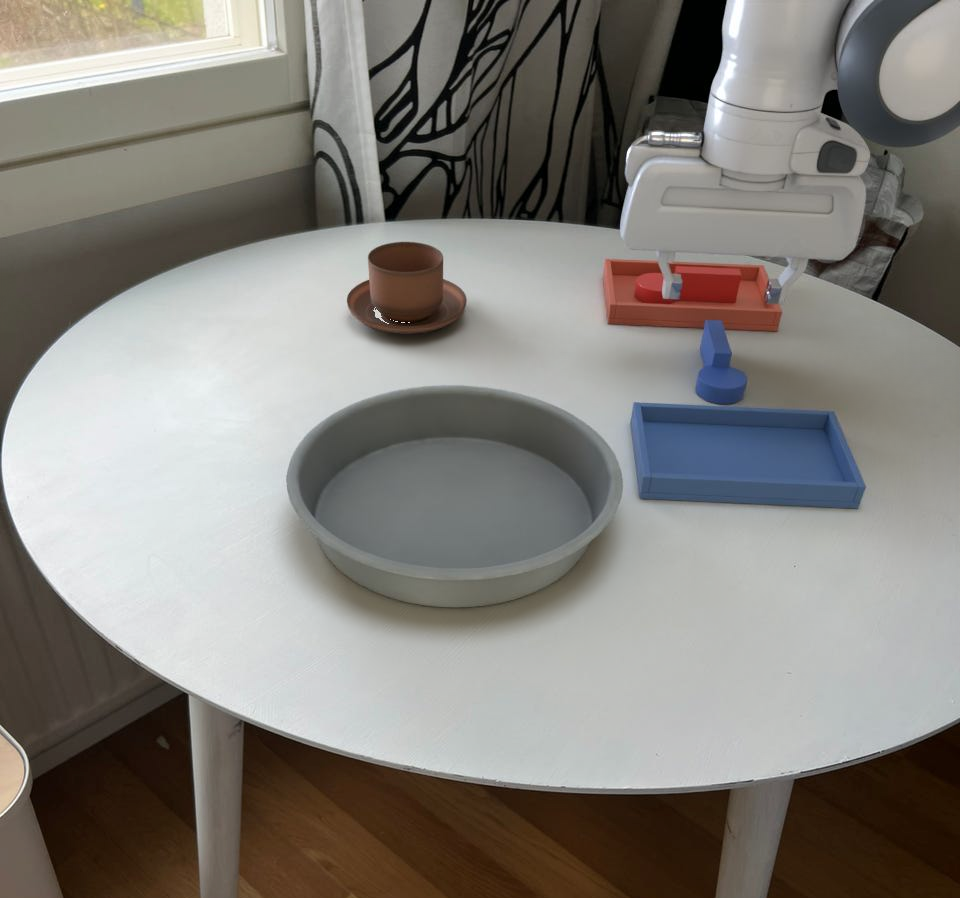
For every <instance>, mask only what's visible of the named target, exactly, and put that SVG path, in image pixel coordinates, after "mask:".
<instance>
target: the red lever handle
mask: <svg viewBox="0 0 960 898" xmlns="http://www.w3.org/2000/svg"><path fill="white" fill-rule="evenodd" d="M674 274H681V279H682V282H683V283H682V289H681V290H680V298H679V299H663V296H662V287H663V281H664V277H663V274H662V273H647V274H643V275H641V276H639V277H638V278H637V281H636V288H635V297H636V298H637V299H638V300H639V301H641V302H643V303H648V304H671V303H673V302H674V301H675V300H679V301H700V302H722V303H736V298H737V294H738V289H739V285H740V280H741V276H742V275H741V272H740V269H732V268H710V267H688V266H676V267H675V273H674Z"/></svg>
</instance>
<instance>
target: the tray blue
mask: <svg viewBox="0 0 960 898" xmlns="http://www.w3.org/2000/svg"><path fill="white" fill-rule="evenodd" d="M630 432H631V439H632V447H633V455H634V463H635V470H636V479H637V486H638V493H639V495H638V496H639V499H640V500H641V499H642V500H643V499H644V500H667V501H686V502H707V503H708V502H709V503H727V504H729V503H730V504H732V503H733V504H749V505H752V504H753V505H772V506H791V507H792V506H794V507H814V508H835V509H836V508H837V509H856V510H857V509H859V508H860V505H861V501H862V499H863V497H864V495H865V492H866V488H867V486H866V484H865V481H864V478H863V476H862V474H861V471H860V469H859V467H858V463H856V459H855V457H854V454H853V453H852V451H851V448H850V445H849V444H848V440H847V438H846V436H845V434H844V431H843V429H842V426H841V424H840V422H839V420H838V417H837V415H836V412H835V411H834V410H817V409H795V408H794V409H793V408H773V407H771V408H770V407H752V406H751V407H750V406H749V407H748V406H726V405H724V406H723V405H708V404H707V405H704V404H686V403H685V404H681V403H680V404H679V403H660V402H639V401H638V402H637V401H634V402H633V403H632V409H631V415H630Z"/></svg>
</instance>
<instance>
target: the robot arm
mask: <svg viewBox="0 0 960 898" xmlns="http://www.w3.org/2000/svg"><path fill="white" fill-rule="evenodd" d="M721 27H722V28H721V35H722V36H721V38H722V52H721V58H720V62H719V66H718V69H717V71H716V73H715V76H714V78H713V80H712V83H711V86H710V91H709V95H708V103H707V107H706V113H705V119H704V123H703V124H704V125H703V130H702V131H701V132H700V131H699V132H698V131H692V132H691V131H677V132H669V131H668V132H667V131H666V132H665V130H657V129H656V130H650V131H648V132H647V135H642V136H640V137H638V138H636V139H635V140H634V141H633V142H632V143H631V145H630V146H629V147H628V150H627V152H626V157H625V165H624V178H625V181H626V183H627V185H628V187H627V190H626V194H625V198H624V200H623V201H624V202H623V206H622V211H621V214H620V215H621V216H620V223H619V233H620V237H621V240H622V241H623V243H624V245H625V246H626V248H628V250H632V251H647V252H649V251H650V252H655V255H656V261H658V264H659V267H660V269H661V272H662V274H663V277H664V281H663V287H662V296H663V299H679V298H680V290H681V289H682V283H683V282H682V279H681V274H673V273H672V272H671V269H670V267H669V264H668V263H673V262H675V256H676V253H686V254H687V253H688V254H689V253H691V254H707V255H708V254H710V255H725V256H726V255H727V256H729V255H730V256H746V257H763V258H764V257H765V258H785V259H786V262H787V263H788V265H787V266H786V267H785V268H784V269H783V271H782V272H781V273H780V275H779V276H778V277H777V278H769V279H768V282H767V289H766V290H765V295H764V299H765V301H766V304H775V305H780V306H783V305H784V304H785V300H786V297H787V293H788V289H789V288H790V287H792V285H793V284H794V283H795V282H796V281H797V280H798V279H799V278H800V277H801V276H802V275H803V274H804V273H805V272H806V269H807V266H808V263H809V261H810V260H824V261H843V260H844V259H845V258H847V257H848V256H849V255H850V254H851V253H852V252H853V251H854V250H855V248H856V245H857V242H858V239H859V236H860V232H861V228H862V224H863V219H864V214H865V209H866V201H867V189H866V185H865V183H864V181H863V179H862V177H861V175H862V174H864V172H866V170H867V168H868V166H869V162H870V160H871V159H870V158H871V151H870V149H869V147H868V144H867V142H866V141H865V140H868V141H869V142H872V143H874V144H877V145H880V146H883V147H887V148H888V147H889V148H913V147H917V146H922V145H926V144H929V143H931V142H935V141H937V140H939V139H941V138H943V137H945V136H946V135H948V134H950V133H951V132H953V131H955V130H956V129H957V128H958V127H960V0H726V4H725V9H724V15H723V19H722V25H721ZM833 90H837V97H838V101H839V104H840V108H841V111H842V113H843V115H844V117H845V119H846V121H847V122H848V123H849V124H848V123H846V122H844V121H841V120H839V119H836V118H834V117H833V116H829V115H827V114H824V113H822V108H823V104H824V100H825V97H826V94H827V93H828V92H830V91H833ZM864 138H865V140H864ZM645 142H646V143H645Z"/></svg>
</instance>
